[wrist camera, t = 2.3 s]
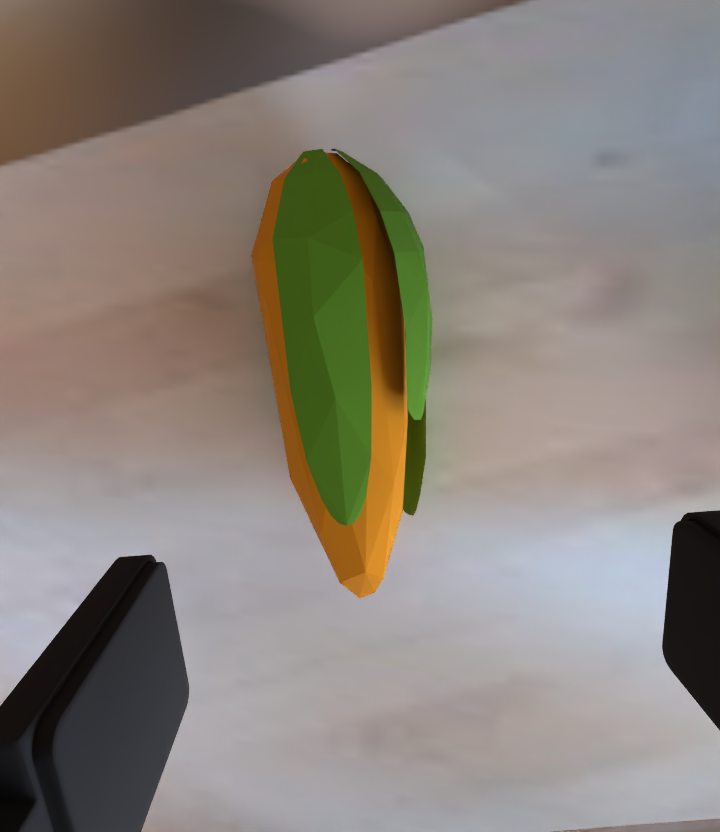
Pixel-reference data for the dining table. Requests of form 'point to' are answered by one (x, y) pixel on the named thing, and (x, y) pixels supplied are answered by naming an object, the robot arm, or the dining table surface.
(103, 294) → the dining table surface
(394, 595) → the dining table surface
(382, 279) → the corn
